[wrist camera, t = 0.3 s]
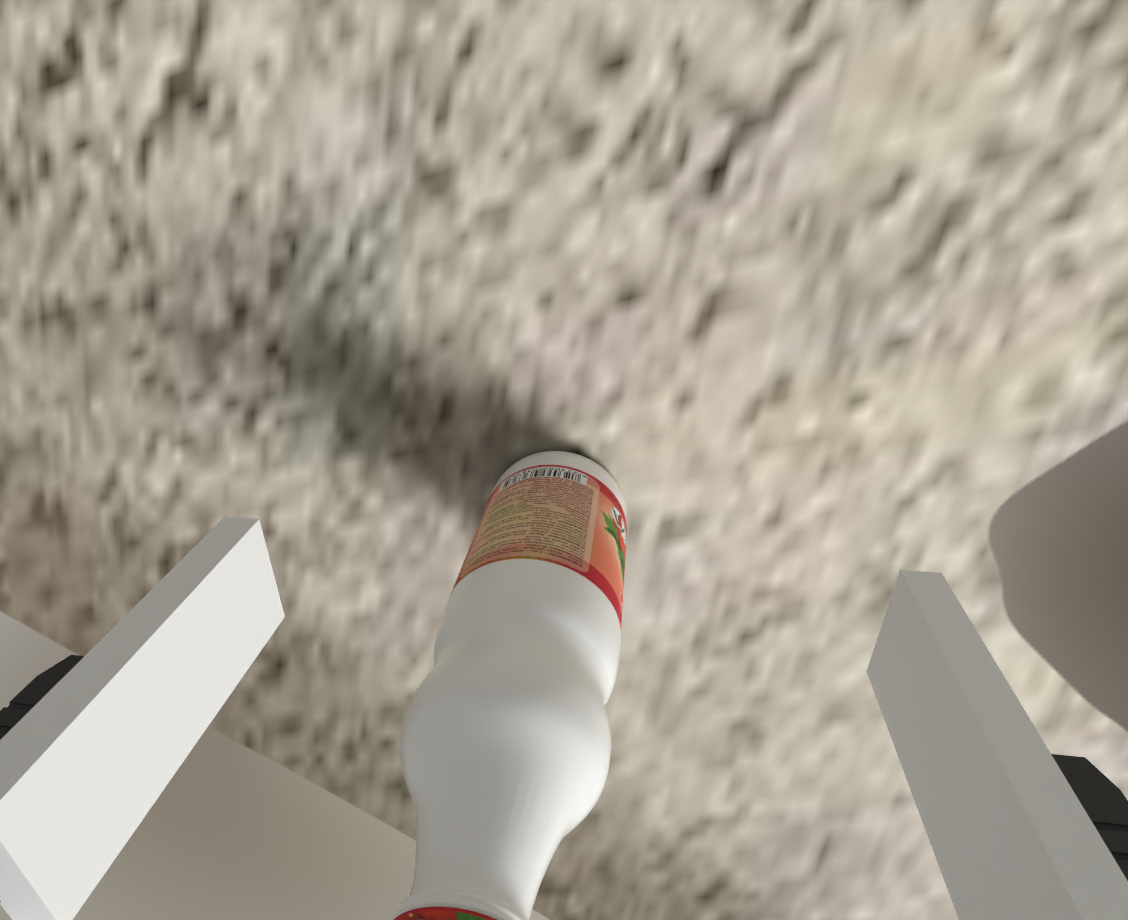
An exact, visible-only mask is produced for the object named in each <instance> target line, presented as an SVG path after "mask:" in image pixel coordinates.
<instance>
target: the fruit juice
mask: <svg viewBox="0 0 1128 920" xmlns="http://www.w3.org/2000/svg"><path fill="white" fill-rule="evenodd" d="M626 535H627V510H626V504H625V500H624V497H623V494H622V492H621V490H620V488H619V486H618V484H617V483H616V481H615V480H614V478H613V477H612V476H611V475H610V474H609V473H608V472H607V471H606V470H605V469H604V468H603V467H601V466H600V465H599V464H597V463H596V462H594V461H592V460H590V459H588V458H586V457H584V456H581V455H578V454H575V453H571V452H565V451H545V452H539V453H535V454H532V455H529V456H527V457H524V458H522V459H521V460H519V461H517V462H516V463H514V464H513V465H512V466H511V467H509V468H508V469H507V470H506V471H505V472H504V473H503V475H502V476H501V477H500V479H499V480H498V482H497V483H496V485H495V487H494V489H493V491H492V493H491V496H490V498H489V501H488V503H487V506H486V508H485V511H484V513H483V516H482V518H481V521H480V523H479V526H478V528H477V530H476V533H475V535H474V538H473V540H472V543H471V545H470V548H469V550H468V553H467V555H466V558H465V560H464V563H463V565H462V568H461V570H460V573H459V575H458V578H457V580H456V583H455V585H454V588H453V590H452V592H451V594H450V597H449V599H448V601H447V604H446V606H445V609H444V612H443V615H442V618H441V621H440V624H439V628H438V631H437V635H436V640H435V646H434V666H435V667H434V668H433V669H432V670H431V671H430V673H429V674H428V675H427V676H426V678H425V679H424V680H423V682H422V683H421V685H420V686H419V687H418V689H417V691H416V692H415V694H414V696H413V698H412V700H411V702H410V705H409V708H408V711H407V714H406V717H405V720H404V724H403V728H402V734H401V743H400V754H401V763H402V768H403V772H404V776H405V779H406V782H407V785H408V788H409V791H410V794H411V797H412V800H413V804H414V810H415V819H416V854H415V870H414V878H413V884H412V888H411V892H410V895H409V897H407V898H406V899H405V900H404V901H403V902H402V903H401V904H400V905H399V907H398V908H397V910H396V912H395V915H394V919H393V920H530V917H531V912H532V908H533V905H534V901H535V898H536V895H537V892H538V889H539V886H540V884H541V881H542V879H543V877H544V874H545V872H546V869H547V867H548V865H549V863H550V861H551V859H552V856H553V854H554V852H555V850H556V848H557V847H558V845H559V843H560V841H561V839H562V838H563V837H564V836H565V835H566V834H568V833H569V832H570V831H571V830H572V829H574V828H575V827H576V826H577V825H578V824H579V823H580V822H581V821H582V820H583V819H584V818H585V817H586V816H587V814H588V813H589V812H590V811H591V809H592V808H593V807H594V805H595V803H596V802H597V800H598V798H599V796H600V794H601V792H602V790H603V787H604V785H605V782H606V778H607V774H608V769H609V762H610V755H611V734H610V727H609V721H608V717H607V713H606V709H605V704H606V702H607V701H608V699H609V697H610V694H611V692H612V689H613V687H614V683H615V679H616V675H617V669H618V663H619V655H620V647H621V621H622V604H623V587H624V570H625V552H626Z"/></svg>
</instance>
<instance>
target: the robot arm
mask: <svg viewBox="0 0 1128 920" xmlns="http://www.w3.org/2000/svg"><path fill="white" fill-rule="evenodd" d="M284 617H285V616H284V612H283V608H282V604H281V601H280V597H279V593H278V589H277V585H276V582H275V578H274V574H273V570H272V566H271V563H270V559H269V555H268V551H267V547H266V544H265V540H264V536H263V532H262V528H261V525H260V521H259V519H249V518H237V517H224V518H223V519H222V520H221V521H220V522H219V523H218V524H217V525H216V526H215V527H214V528H213V529H212V530H211V531H210V532H209V533H208V534H207V535H206V536H205V537H204V538H203V539H202V540H201V541H200V542H199V543H198V544H197V545H196V546H195V547H194V548H193V549H192V550H191V551H190V552H189V553H188V554H187V555H186V556H185V557H184V558H183V559H182V560H181V561H180V562H179V563H178V564H177V565H176V566H175V567H174V568H173V569H172V570H171V571H170V572H169V573H168V574H167V575H166V576H165V577H164V578H163V579H162V580H161V581H160V582H159V583H158V584H157V585H156V586H155V587H154V588H153V589H152V590H151V591H150V592H149V593H148V594H147V595H146V596H145V597H144V598H143V599H142V600H141V601H140V602H139V603H138V604H137V605H136V606H135V607H134V608H133V609H132V610H131V611H130V612H129V613H128V614H127V615H126V616H125V617H124V618H123V619H122V620H121V621H120V622H119V623H118V624H117V625H116V626H115V627H114V628H113V629H112V630H111V631H110V632H109V633H108V634H106V635H105V636H104V637H103V638H102V639H101V640H100V641H99V642H98V643H97V644H96V645H95V646H94V647H93V648H92V649H91V650H90V651H89V652H88V653H87V654H86V655H85V656H77V655H70V656H69V657H67V658H65V659H64V660H62V661H61V662H59V663H57V664H56V665H54V666H53V667H51V668H49V669H48V670H46V671H45V672H43V673H41V674H40V675H38V676H37V677H36V678H35V679H33V681H31V682H30V683H29V684H28V685H27V686H26V687H25V688H24V689H23V690H22V691H21V692H20V693H19V694H18V695H17V696H16V697H14V698H13V699H12V700H11V701H10V705H9V706H8V707H7V708H5V707H4V708H3V709H2V710H1V711H0V904H1V905H2V907H3V908H4V909H5V911H6V912H7V913H8V915H9V916H10V917H11V919H12V920H73V918H74V917H75V915H76V913H77V912H78V911H79V910H80V908H81V907H82V905H83V904H84V902H85V901H86V900H87V898H88V897H89V895H90V894H91V892H92V891H93V890H94V888H95V887H96V885H97V884H98V882H99V881H100V879H101V878H102V877H103V875H104V874H105V872H106V871H107V870H108V868H109V867H110V865H111V864H112V862H113V861H114V860H115V858H116V857H117V855H118V854H119V852H120V851H121V850H122V848H123V847H124V845H125V844H126V843H127V841H128V840H129V838H130V837H131V835H132V834H133V832H134V831H135V830H136V828H137V827H138V825H139V824H140V823H141V821H142V820H143V818H144V817H145V815H146V814H147V813H148V811H149V810H150V808H151V807H152V805H153V804H154V803H155V801H156V800H157V798H158V797H159V795H160V794H161V792H162V791H163V790H164V788H165V787H166V785H167V784H168V783H169V781H170V779H171V778H172V777H173V775H174V774H175V773H176V771H177V770H178V768H179V767H180V765H181V764H182V763H183V761H184V760H185V758H186V757H187V755H188V754H189V753H190V751H191V750H192V748H193V747H194V745H195V744H196V743H197V741H198V739H199V738H200V737H201V735H202V734H203V733H204V731H205V730H206V728H207V727H208V725H209V724H210V723H211V721H212V720H213V718H214V717H215V716H216V714H217V713H218V711H219V710H220V708H221V707H222V706H223V704H224V703H225V701H226V700H227V698H228V697H229V696H230V694H231V693H232V691H233V690H234V688H235V687H236V686H237V684H238V683H239V681H240V680H241V678H242V677H243V676H244V674H245V673H246V671H247V670H248V668H249V667H250V666H251V664H252V663H253V661H254V660H255V658H256V657H257V656H258V654H259V653H260V651H261V650H262V648H263V647H264V646H265V644H266V643H267V641H268V640H269V638H270V637H271V636H272V634H273V633H274V631H275V630H276V628H277V627H278V626H279V624H280V623H281V621H282V620H283V618H284ZM867 674H868V676H869V679H870V682H871V684H872V687H873V690H874V692H875V695H876V698H877V700H878V703H879V706H880V709H881V711H882V714H883V717H884V719H885V722H886V725H887V727H888V730H889V733H890V735H891V738H892V741H893V743H894V746H895V749H896V752H897V754H898V757H899V760H900V762H901V765H902V768H903V770H904V773H905V776H906V778H907V781H908V784H909V787H910V789H911V792H912V795H913V797H914V800H915V803H916V805H917V808H918V811H919V813H920V816H921V819H922V822H923V824H924V827H925V830H926V832H927V835H928V838H929V840H930V843H931V846H932V848H933V851H934V854H935V856H936V859H937V862H938V865H939V867H940V870H941V873H942V875H943V878H944V881H945V883H946V886H947V889H948V891H949V894H950V897H951V900H952V902H953V905H954V908H955V910H956V913H957V916H958V918H959V920H1128V801H1127V799H1126V798H1125V796H1124V795H1123V793H1122V792H1121V790H1120V789H1119V788H1117V787H1116V786H1115V785H1114V784H1113V783H1112V782H1111V781H1110V780H1109V779H1108V778H1107V777H1106V776H1104V775H1103V774H1102V773H1101V772H1100V771H1099V770H1098V769H1097V768H1096V767H1095V766H1094V765H1093V764H1091V763H1090V762H1089V761H1088V760H1087V759H1086V758H1085V757H1075V756H1065V755H1055V754H1051V753H1050V752H1049V750H1048V748H1047V747H1046V745H1045V743H1044V742H1043V740H1042V738H1041V737H1040V735H1039V733H1038V732H1037V730H1036V728H1035V727H1034V725H1033V723H1032V722H1031V720H1030V718H1029V717H1028V715H1027V713H1026V712H1025V710H1024V709H1023V707H1022V705H1021V704H1020V702H1019V700H1018V699H1017V697H1016V695H1015V694H1014V692H1013V690H1012V689H1011V687H1010V685H1009V684H1008V682H1007V680H1006V679H1005V677H1004V675H1003V674H1002V672H1001V670H1000V669H999V667H998V665H997V664H996V662H995V661H994V659H993V657H992V656H991V654H990V652H989V651H988V649H987V647H986V646H985V644H984V642H983V641H982V639H981V637H980V636H979V634H978V632H977V631H976V629H975V627H974V626H973V624H972V622H971V621H970V619H969V617H968V616H967V614H966V613H965V611H964V609H963V608H962V606H961V604H960V603H959V601H958V599H957V598H956V596H955V594H954V593H953V591H952V589H951V588H950V586H949V584H948V583H947V581H946V579H945V578H944V576H943V574H942V573H932V572H920V571H907V570H900V573H899V576H898V579H897V582H896V585H895V588H894V591H893V594H892V597H891V600H890V603H889V606H888V609H887V612H886V615H885V618H884V621H883V624H882V627H881V630H880V633H879V636H878V639H877V642H876V645H875V648H874V651H873V654H872V657H871V660H870V663H869V666H868V669H867Z"/></svg>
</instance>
